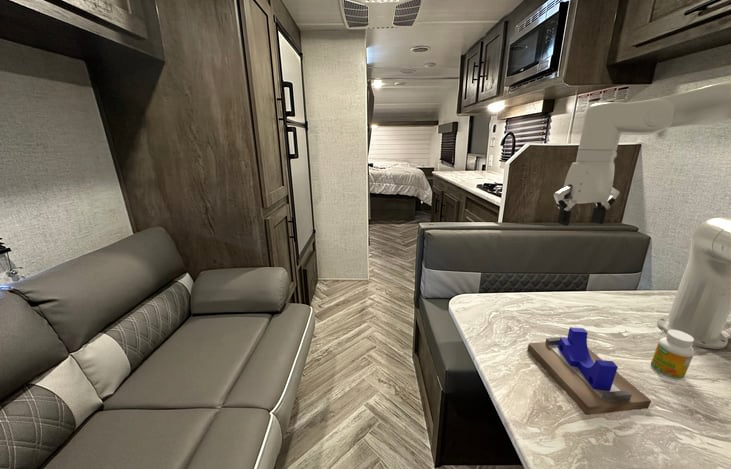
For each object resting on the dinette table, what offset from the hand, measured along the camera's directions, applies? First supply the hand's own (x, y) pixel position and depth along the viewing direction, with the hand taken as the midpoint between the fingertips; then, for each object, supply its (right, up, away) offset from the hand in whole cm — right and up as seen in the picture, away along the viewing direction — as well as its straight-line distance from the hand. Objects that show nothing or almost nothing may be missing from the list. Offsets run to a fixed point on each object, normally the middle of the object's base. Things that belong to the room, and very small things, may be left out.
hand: (579, 223), depth 77 cm
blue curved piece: (-10, -32, -14) cm, 36 cm away
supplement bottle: (+11, -34, -12) cm, 37 cm away
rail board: (-9, -34, -13) cm, 38 cm away
